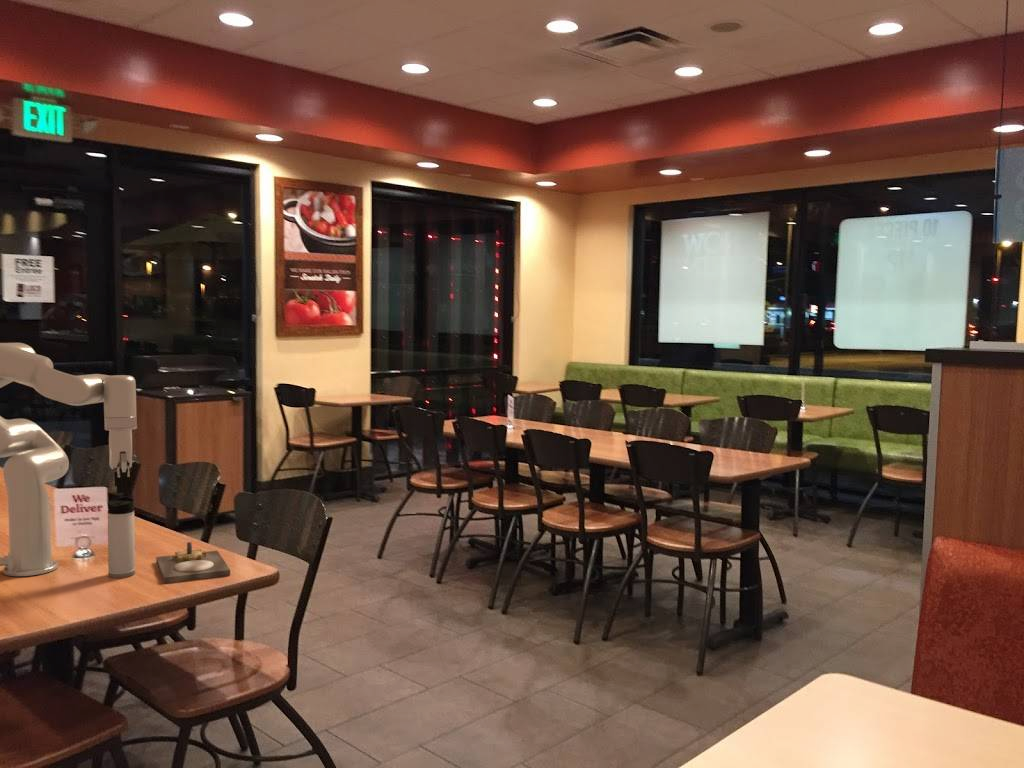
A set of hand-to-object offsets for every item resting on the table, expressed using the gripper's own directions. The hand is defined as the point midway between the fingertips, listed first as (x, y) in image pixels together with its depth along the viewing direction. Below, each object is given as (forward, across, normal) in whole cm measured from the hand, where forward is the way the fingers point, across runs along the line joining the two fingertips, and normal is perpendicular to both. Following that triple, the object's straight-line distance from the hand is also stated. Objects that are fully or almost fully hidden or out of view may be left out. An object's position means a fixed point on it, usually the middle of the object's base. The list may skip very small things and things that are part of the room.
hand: (122, 489), depth 217 cm
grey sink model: (+23, +2, +16) cm, 28 cm away
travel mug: (+23, 0, -1) cm, 23 cm away
